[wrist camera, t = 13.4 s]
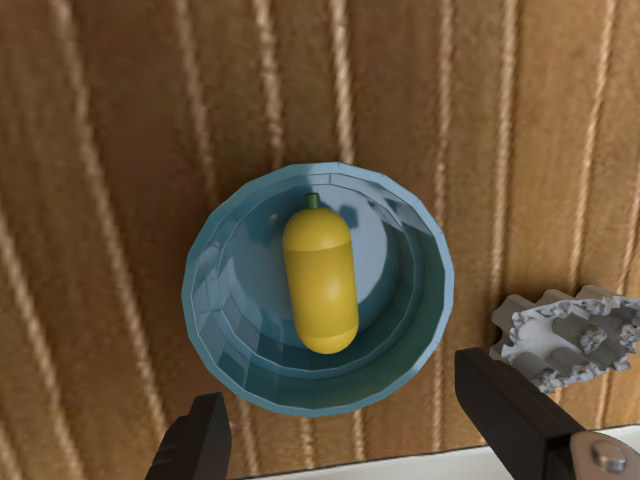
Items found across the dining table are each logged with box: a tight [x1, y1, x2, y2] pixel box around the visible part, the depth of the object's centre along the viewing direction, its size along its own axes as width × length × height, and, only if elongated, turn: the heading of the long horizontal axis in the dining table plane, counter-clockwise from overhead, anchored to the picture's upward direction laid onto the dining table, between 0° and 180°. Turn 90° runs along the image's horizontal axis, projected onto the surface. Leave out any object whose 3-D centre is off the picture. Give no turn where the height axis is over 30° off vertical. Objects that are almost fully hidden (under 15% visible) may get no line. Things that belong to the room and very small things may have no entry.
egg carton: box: [489, 284, 640, 395], centre depth 24 cm, size 11×8×4 cm
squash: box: [282, 193, 359, 354], centre depth 20 cm, size 11×4×4 cm, turn 6°
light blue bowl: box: [181, 161, 455, 417], centre depth 20 cm, size 15×15×6 cm
